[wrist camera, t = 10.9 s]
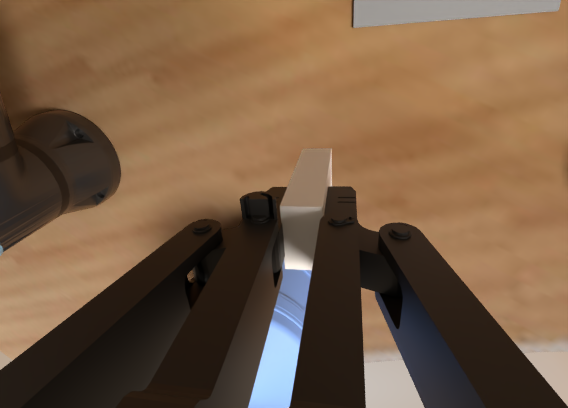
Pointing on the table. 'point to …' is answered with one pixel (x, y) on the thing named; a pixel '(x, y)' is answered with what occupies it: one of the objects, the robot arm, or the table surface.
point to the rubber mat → (441, 10)
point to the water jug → (282, 343)
